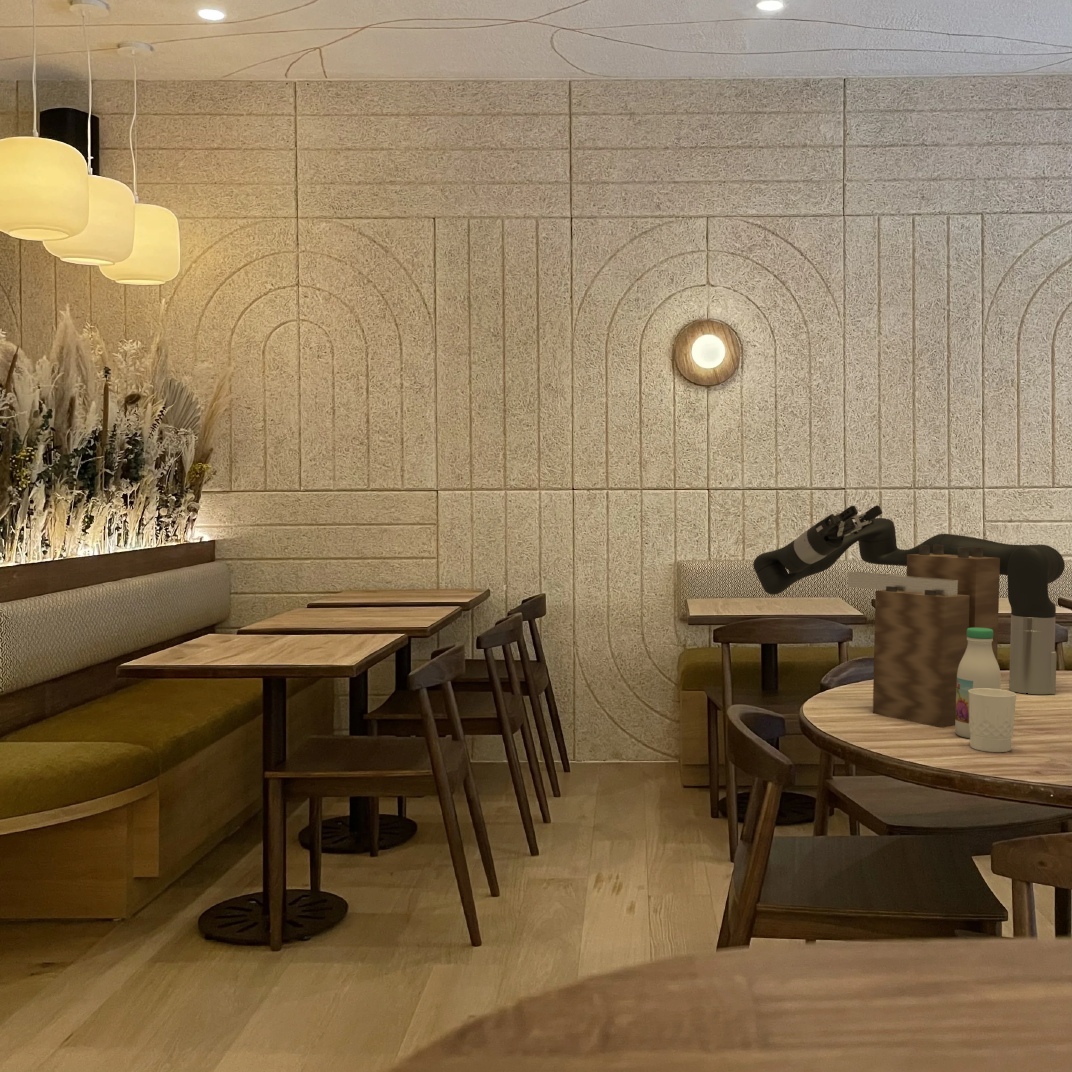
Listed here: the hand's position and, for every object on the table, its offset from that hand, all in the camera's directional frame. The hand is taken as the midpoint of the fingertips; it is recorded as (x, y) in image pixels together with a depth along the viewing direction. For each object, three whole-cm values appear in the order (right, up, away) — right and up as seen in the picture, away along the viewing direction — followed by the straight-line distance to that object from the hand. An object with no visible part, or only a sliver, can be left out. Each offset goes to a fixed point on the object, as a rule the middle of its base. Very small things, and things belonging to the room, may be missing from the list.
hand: (867, 509), depth 257 cm
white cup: (+6, -44, -55) cm, 71 cm away
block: (-1, -17, -26) cm, 31 cm away
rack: (+6, -42, -26) cm, 50 cm away
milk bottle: (+7, -43, -45) cm, 63 cm away
